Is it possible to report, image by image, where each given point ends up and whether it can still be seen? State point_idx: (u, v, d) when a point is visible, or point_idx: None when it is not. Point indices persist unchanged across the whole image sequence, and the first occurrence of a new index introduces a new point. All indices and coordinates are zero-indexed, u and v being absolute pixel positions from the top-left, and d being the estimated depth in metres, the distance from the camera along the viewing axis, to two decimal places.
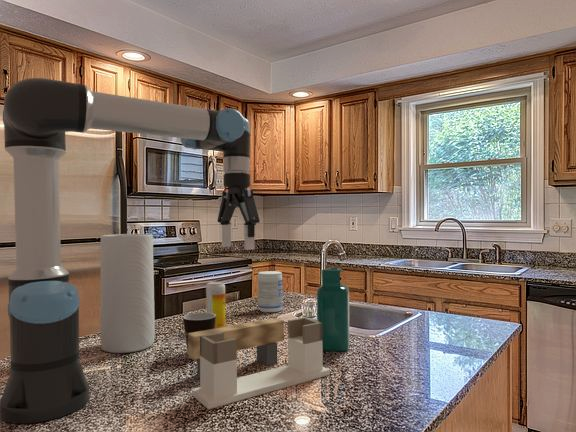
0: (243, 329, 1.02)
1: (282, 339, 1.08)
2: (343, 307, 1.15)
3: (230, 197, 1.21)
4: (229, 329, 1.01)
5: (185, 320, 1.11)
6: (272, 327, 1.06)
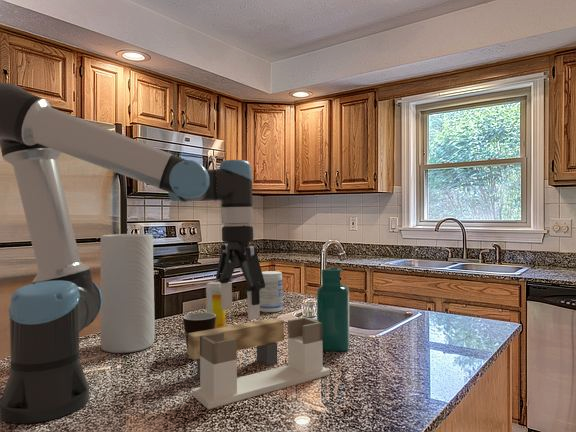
0: (243, 329, 1.02)
1: (282, 339, 1.08)
2: (343, 307, 1.15)
3: (230, 254, 1.03)
4: (229, 329, 1.01)
5: (185, 320, 1.11)
6: (272, 327, 1.06)
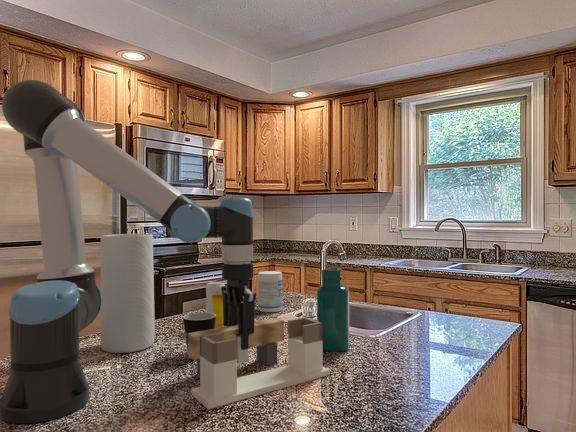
0: None
1: (282, 339, 1.08)
2: (343, 307, 1.15)
3: (230, 290, 1.03)
4: (229, 329, 1.01)
5: (185, 320, 1.11)
6: (272, 327, 1.06)
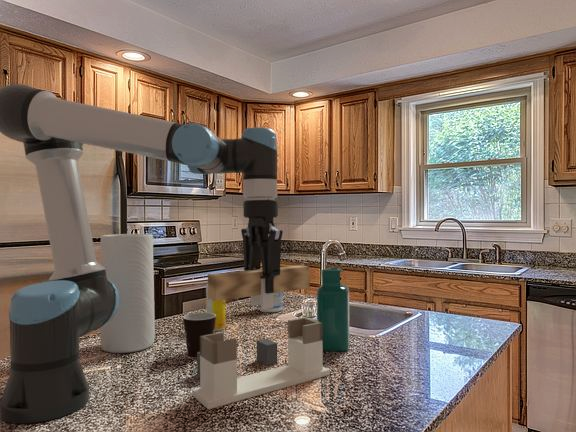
0: None
1: (308, 286, 0.99)
2: (343, 307, 1.15)
3: (252, 230, 0.94)
4: (252, 271, 0.92)
5: (185, 320, 1.11)
6: (297, 272, 0.98)
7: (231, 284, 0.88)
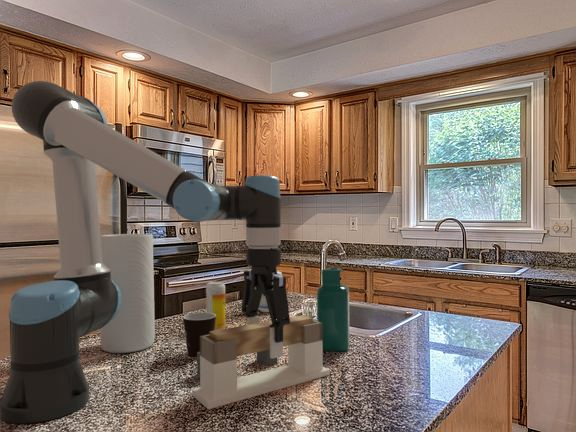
0: None
1: None
2: (343, 307, 1.15)
3: (255, 278, 0.93)
4: (255, 327, 0.91)
5: (185, 320, 1.11)
6: (301, 325, 0.97)
7: None
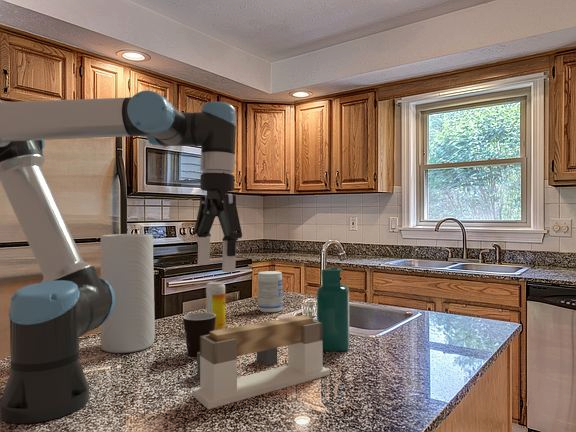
0: (270, 327, 0.92)
1: None
2: (343, 307, 1.15)
3: (208, 203, 0.96)
4: (255, 327, 0.91)
5: (185, 320, 1.11)
6: (301, 325, 0.97)
7: None
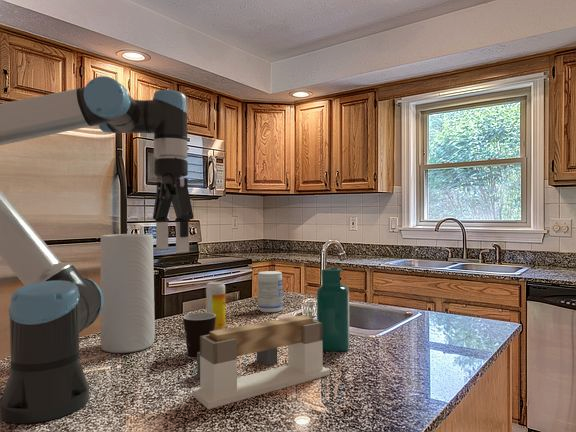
0: (270, 327, 0.92)
1: None
2: (343, 307, 1.15)
3: (163, 188, 1.00)
4: (255, 327, 0.91)
5: (185, 320, 1.11)
6: (301, 325, 0.97)
7: None
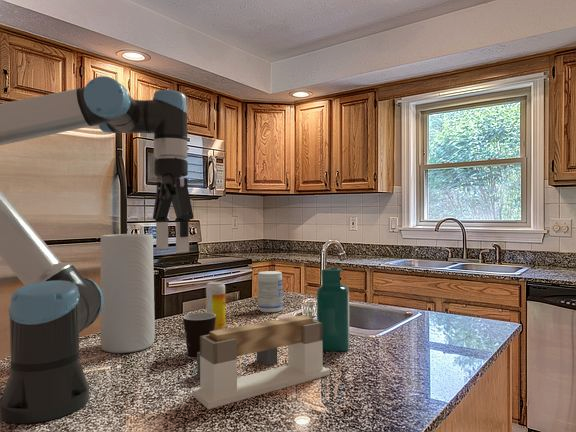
0: (270, 327, 0.92)
1: None
2: (343, 307, 1.15)
3: (163, 188, 1.00)
4: (255, 327, 0.91)
5: (185, 320, 1.11)
6: (301, 325, 0.97)
7: None
